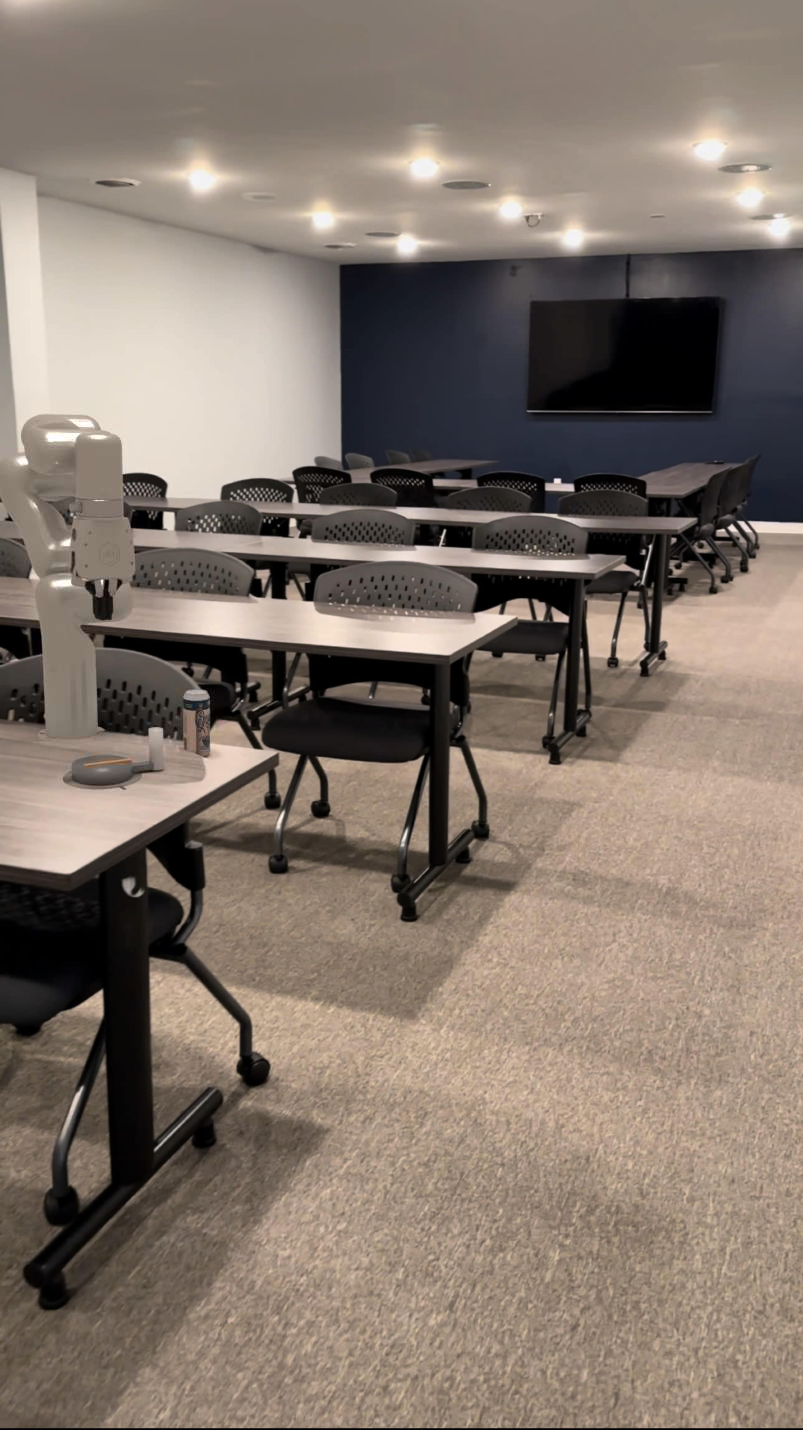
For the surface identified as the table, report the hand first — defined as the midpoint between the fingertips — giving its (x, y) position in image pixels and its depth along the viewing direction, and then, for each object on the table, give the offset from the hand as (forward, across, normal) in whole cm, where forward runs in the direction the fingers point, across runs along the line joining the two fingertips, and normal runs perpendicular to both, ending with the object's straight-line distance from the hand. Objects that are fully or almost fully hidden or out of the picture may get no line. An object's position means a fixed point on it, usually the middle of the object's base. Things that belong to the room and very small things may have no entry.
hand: (103, 618), depth 206 cm
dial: (+25, -1, -6) cm, 26 cm away
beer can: (+27, +18, 0) cm, 33 cm away
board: (+27, -2, -6) cm, 28 cm away
